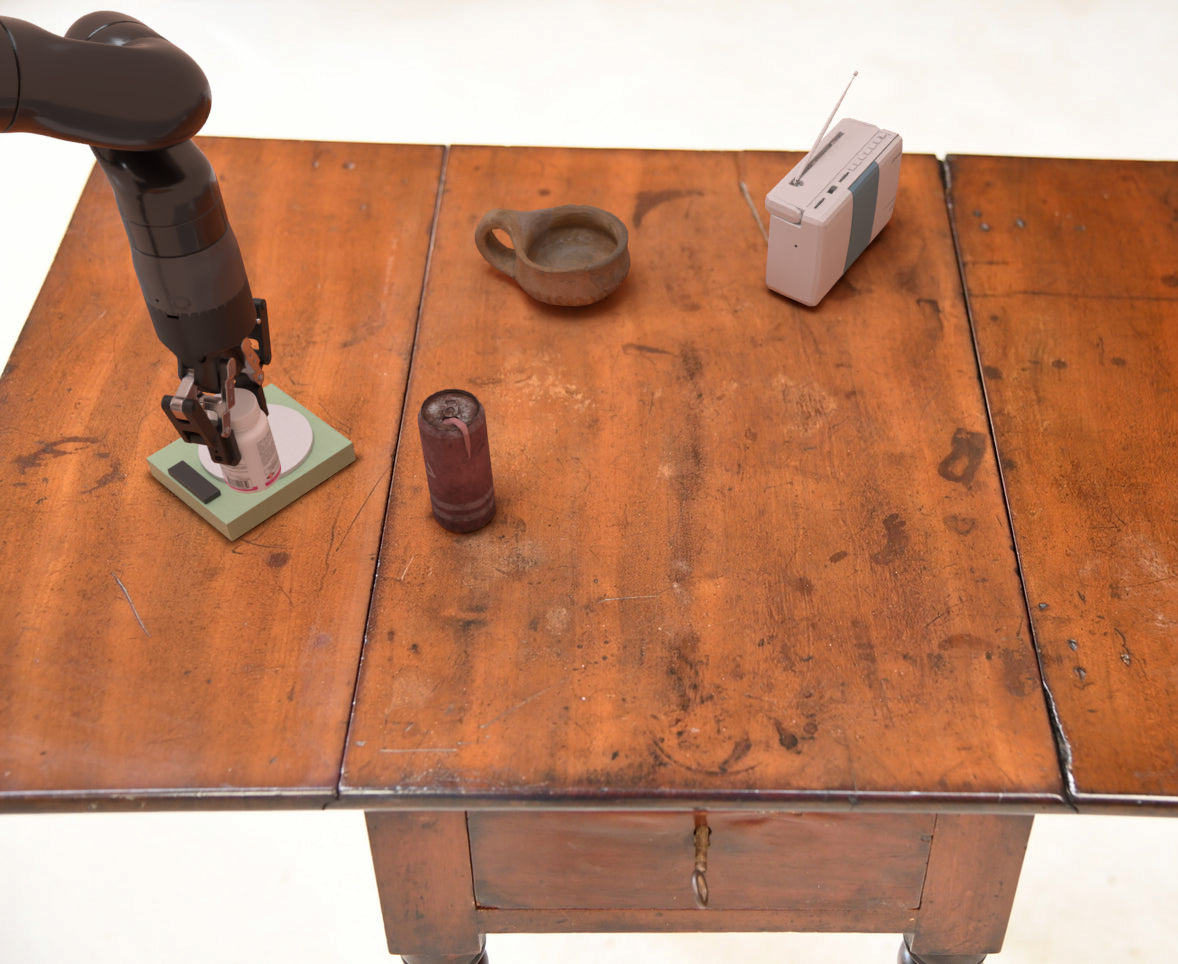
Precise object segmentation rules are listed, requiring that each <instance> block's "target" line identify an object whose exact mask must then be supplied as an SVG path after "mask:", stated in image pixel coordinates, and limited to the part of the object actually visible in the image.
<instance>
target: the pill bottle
mask: <svg viewBox="0 0 1178 964" xmlns="http://www.w3.org/2000/svg"><path fill="white" fill-rule="evenodd" d="M234 390H235V406H234V407H233V408H232V409H230V418H231V429H233V431H234V435H235V438H236V441H237V445H238V448H239V451H240V454H241V461H240V462H239V464H238V465H237V466H229V465H223V464H220V467H221V470H222V473H223V476H224V479H225V481H226V483H227V485H228V486H229V487H230V488H231V489H232V490H234V491H236V492H239V493H244V494H252V493H257V492H261V491H263V490H266V489H268V488H269V487H271V486H272V485H273V484H275V483H276V481H277V480H278V479H279V477H280V474H281V464H280V460H279V456H278V453H277V449H276V446H275V442H274V439H273V435H272V432H271V429H270V425H269V422H268V419H267V417H266V415H265V413H264V412H263V411H262V410H261V409H260V407H259V404H258V402H257V399H256V397H255V395H254V394H253V393H252V392H251V391H249V390H246V389H242V388H234ZM213 396H217V397H221V394H213ZM207 413H208V417H209V419H211V420H217V421H218V419H217V413H216V412H214V411H209V410H207Z"/></svg>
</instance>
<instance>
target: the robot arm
mask: <svg viewBox="0 0 1178 964" xmlns="http://www.w3.org/2000/svg"><path fill="white" fill-rule="evenodd" d="M212 105H213V95H212V89H211V84H210V82H209V80H208V78H207V75H206V73H205V72H204V70H203V69H202V67H201V66H200V65H199V64H198V63H197V62H196V60H195V59H194V58H193V57H192V56H191V55H190V54H188V53H187V52H186V51H184V50H183V49H182V48H180V47H179V46H177V45H176V44H174V43H173V42H171V41H170V40H168V39H167V38H166V37H164V36H163V35H161V34H160V33H159V32H157V31H155V30H154V29H153V28H151V27H150V26H148V25H147V24H146V23H145V22H143V21H141V20H139V19H137V18H136V17H134V16H131V15H129V14H126V13H123V12H120V11H115V10H96V11H92V12H90V13H89V12H88V13H86V14H84V15H83V16H81V17H79V18H77V19H76V20H75V21H74V22H73V23H72V24H71V25H70V26H69V27H68V29H66V32H65V33H64V36H61V35H60V34H59V35H58V34H56V33H53V32H51V31H49V30H47V29H46V28H45V29H44V28H43V27H41V26H39V25H36V23H35V24H34V23H32V22H31V21H27V20H24V19H21V18H17V17H12V16H9V15H8V16H7V15H1V14H0V134H31V135H36V136H37V135H38V136H41V137H42V136H43V137H47V138H52V139H55V140H59V141H65V142H70V143H75V144H81V145H87V146H88V147H89V148H90V150H91V152H92V155H93V156H94V157H95V159H96V161H97V163H98V165H99V167H100V168H101V169H102V171H103V173H104V175H105V176H106V179H107V180H108V182H109V184H110V187H111V188H112V192H113V196H114V200H115V204H116V206H117V210H118V212H119V216H120V218H121V221H122V222H121V223H122V225H123V227H124V230H125V233H126V237H127V239H128V244H129V248H130V254H131V261H132V266H133V269H134V272H135V275H136V278H137V281H138V284H139V287H140V290H141V293H142V296H143V300H144V301H145V305H146V308H147V310H148V313H149V316H150V319H151V322H152V325H153V328H154V330H155V334H156V337H157V339H158V340H159V341H160V343H161V344H162V345H163V346H165V347H166V349H168V350H169V351H170V352H171V353H172V354H173V355H174V356H175V357H176V360H177V361H176V362H177V376H178V379H179V380H180V383H179V385H178V388H177V389H176V392H175V394H174V395H171V394H164V395H163V396H162V398H161V402H160V406H161V410H162V411H163V412H164V414H165V415H166V417H167V418H168V420H169V422H170V423H171V424H172V426H173V427H174V429H175V430H176V432H177V434H178V435H179V436H180V438H181V437H182V439H183V440H184V442H185V443H191V444H192V443H194V444H200V445H206V446H207V448H208V451H209V454H210V457H211V460H212V461H213V462H214V463H218V464H223V465H229V466H237V465H238V464H239V462H240V461H241V454H240V451H239V448H238V445H237V441H236V438H235V435H234V431H233V429H231V418H230V409H232V408H233V407H234V406H235V390H234V388H242V389H246V390H249V391H251V392H252V393H253V394H254V395H255V397H256V399H257V402H258V404H259V407H260V409H261V410H262V411H263V412H264V413H265V415H266V417H268V415H269V412H268V408H267V404H266V398H265V394H264V391H263V388H264V387H263V383H264V381H265V372H264V370H263V368H264V366H269V365H270V364H271V362H272V358H273V355H272V353H273V352H272V345H271V344H272V343H271V333H270V323H269V313H268V303H267V300H266V299H265V298H260V297H254V296H253V293H252V290H251V286H250V282H249V277H248V273H247V270H246V267H245V264H244V259H243V256H242V252H241V248H240V245H239V242H238V239H237V237H236V233H235V232H234V230H233V228H232V226H231V223H230V220H229V217H228V214H227V210H226V205H225V202H224V198H223V194H222V190H221V188H220V187H221V186H220V184H219V180H218V176H217V174H216V171H215V170H214V167H213V165H212V163H211V162H210V159H209V158H208V157H207V155H206V154H205V153H204V152H203V151H202V149H200V147H199V146H198V145H197V144H196V143H195V142H194V141H193V138H194V137H195V136H196V135H198V134H199V132H201V130H202V129H203V128H204V126H205V124H206V122H207V121H208V119H209V116H210V114H211V112H212V111H211V110H212V107H213V106H212ZM251 340H254V341H256V342H257V345H258V346H257V347H258V348H254V347H252V345H253V343H252V341H251ZM205 393H206V394H205ZM210 394H212V395H210ZM215 394H221V397H217V396H214V395H215ZM207 410H209V411H214V412H216V413H217V419H218V421H217V420H211V419H209V417H208V413H207Z"/></svg>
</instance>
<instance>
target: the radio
mask: <svg viewBox="0 0 1178 964" xmlns="http://www.w3.org/2000/svg"><path fill="white" fill-rule="evenodd" d="M858 74H859V71H858V70H854V72H853V73H852V75H853V76H852V78H851V80H850V81H849V83H848V85H847V86H846V88H845V90H844V91H843V92H842V94H841V96H840V98H839V100H838V101H837V102H836V103H835V106H834V108H833V110H832V111H831V113H830V115H829V116H828V118H827V120H826V122H825V123H824V125H823V127H822V128H821V131H820V132H819V134H818V136H817V138H816V139H815V141H814V143H813V145H812V147H811V148H810V150H809V151H808V153H807V154H806V155H805V156H804V157H803V158H802V159H800V161H799V162H798V163H797V164H796V165H795V166H794V167H793V168H792V169H790V171H789V172H788V173H787V174H786V175H785V176H784V177H783V178H781V180H780V181H778V183H777V184H776V185H775V186H773V188H772V189H771V190H770V191H769V192H768V193H767V194H766V195H765V199H764V205H765V210H766V211H767V213H769V214H770V216H769V229H768V243H767V255H766V257H767V258H766V268H765V286H766V287H767V289H769V290H772V291H773V292H775V293H777V294H780V295H782V296H784V297H787V298H789V299H791V300H794V301H796V302H798V303H801V304H803V305H804V306H807V307H815V306H817V305H818V304H819V303H820V302H821V301H822V299H824V297H825V296H826V295H827V293H828V292H829V291H830V290H831V289H832V288H833V286H834V285H836V283H837V282H838V281H839V279H841V277H842V276H843V275H844V274H845V273H846V271H848V269H849V268H850V267H851V266H852V265H853V264H854V262H855V261H856V260H857V259H858V258H859V257H860V256H861V254H862V253H863V252H864V251H865V250H866V248H867V247H868V246H869V245H870V244H871V243H872V242H873V240H874V239H875V238H876V237H877V236H878V235H879V234H880V232H881V231H882V230H883V229H884V227H886V225H888V223H889V222H890V220H891V219H892V216H893V212H894V208H895V203H896V198H897V194H898V188H899V187H898V186H899V179H900V173H901V166H902V158H903V157H902V156H903V147H904V145H903V144H904V143H903V142H904V141H903V137H902V136H901V135H900V134H899V133H897V132H895V131H891V130H888V129H886V128H882V129H881V128H880V127H878V126H877V125H876V124H872V123H869V122H866V121H862V120H858V119H855V118H851V117H847V118H846V117H845V118H844V117H843V118H841V119H840V120H839V122H838V123H836V124H835V126H834V127H832V128H831V129H830V130H829V131H828V133H827V134H826V131H827V130H828V128H829V127H830V124H831V123H832V121H833V119H834V117H835V115H836V113H837V111H838V109H839V108H840V106H841V103H842V101H843V100H844V98H845V96H846V94H847V92H848V90H849V89H850V87H851V86H852V82H853V80H854V79H855V77H857V76H858ZM825 134H826V135H825Z"/></svg>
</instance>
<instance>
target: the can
mask: <svg viewBox="0 0 1178 964" xmlns="http://www.w3.org/2000/svg"><path fill="white" fill-rule="evenodd" d="M486 416H487V415H486V410H485V408H484V406H483V404H482V403H481V401H479V398H478V397H477V396H476V395H475V394H473V393H472V392H471V391H468V390H465V389H460V388H445V389H441V390H438V391H436V392H433V393H432V394H430V395H428V396H427V397H426V398H425V399H424V400H423V401H422V403H421V406H420V409H419V411H418V414H417V426H418V432H419V437H420V444H421V451H422V456H423V463H424V468H425V474H426V480H427V487H428V493H429V498H430V504H431V510H432V515H433V517H434V519H435V521H436V522H437V523H438V524H439V525H440V526H441V527H443V528H444V529H446V530H449V531H450V532H455V533H460V534H461V533H470V532H474V531H477V530H480V529H481V528H482V527H484V526H486V525H487V524H488V523H489V522H490V520H491V519H492V518H493V517H494V514H495V512H496V509H497V508H496V507H497V506H496V504H497V503H496V494H495V487H494V486H495V484H494V478H493V477H494V476H493V469H492V461H491V451H490V441H489V434H488V433H489V432H488V425H487V417H486Z"/></svg>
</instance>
